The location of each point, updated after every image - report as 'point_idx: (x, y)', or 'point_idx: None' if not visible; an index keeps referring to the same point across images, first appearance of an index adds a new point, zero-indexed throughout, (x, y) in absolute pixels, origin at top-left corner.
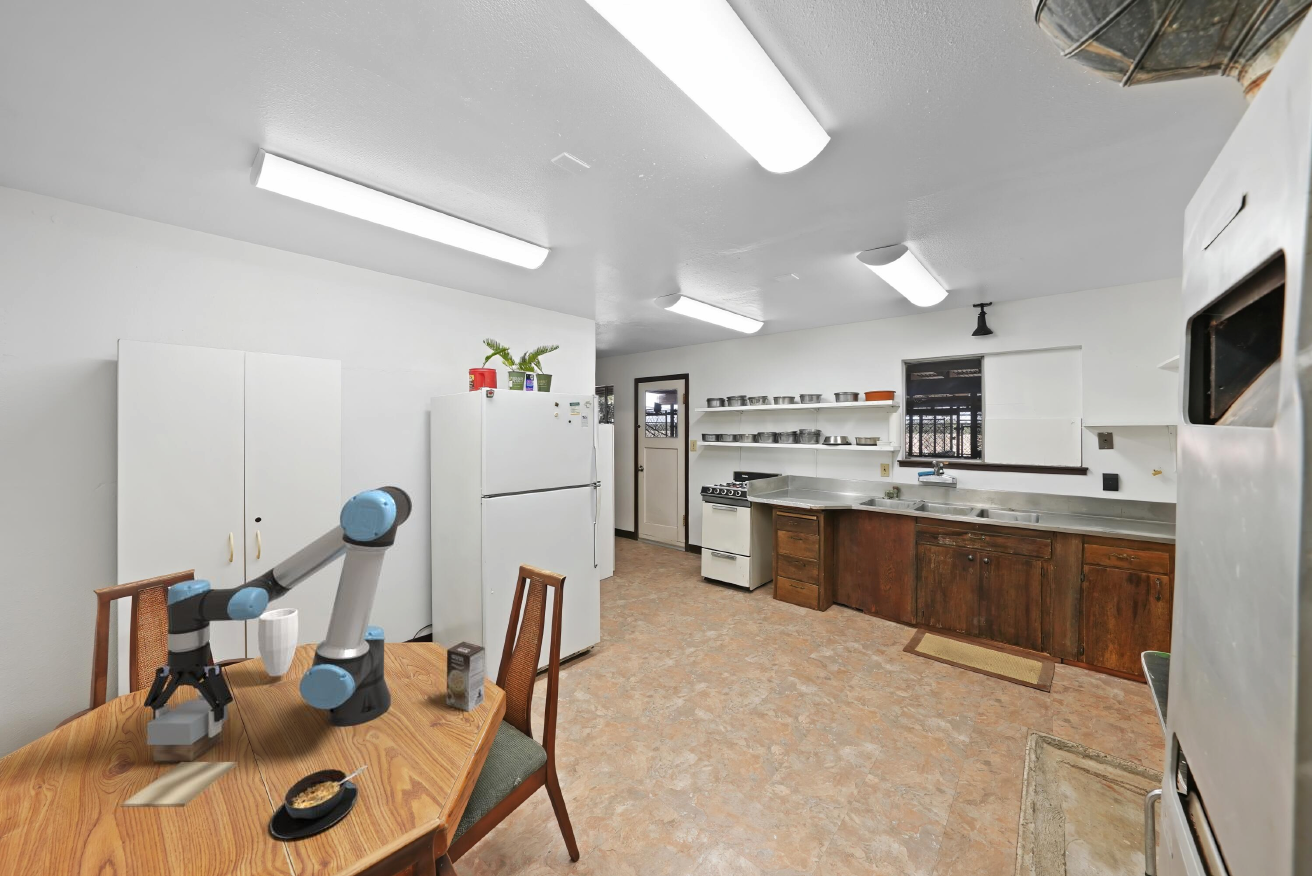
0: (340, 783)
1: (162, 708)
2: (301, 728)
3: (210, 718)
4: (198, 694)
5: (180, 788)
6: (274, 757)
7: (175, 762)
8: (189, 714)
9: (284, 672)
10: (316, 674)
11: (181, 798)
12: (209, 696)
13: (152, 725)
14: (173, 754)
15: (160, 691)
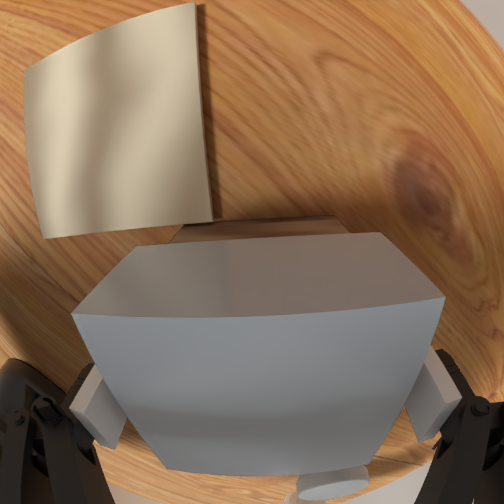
0: None
1: (435, 417)
2: (69, 369)
3: (95, 374)
4: (357, 479)
5: (74, 100)
6: (12, 269)
7: (242, 221)
8: (214, 409)
9: (286, 496)
10: None
11: (42, 76)
12: (52, 486)
13: (400, 291)
14: (250, 232)
15: (483, 490)
